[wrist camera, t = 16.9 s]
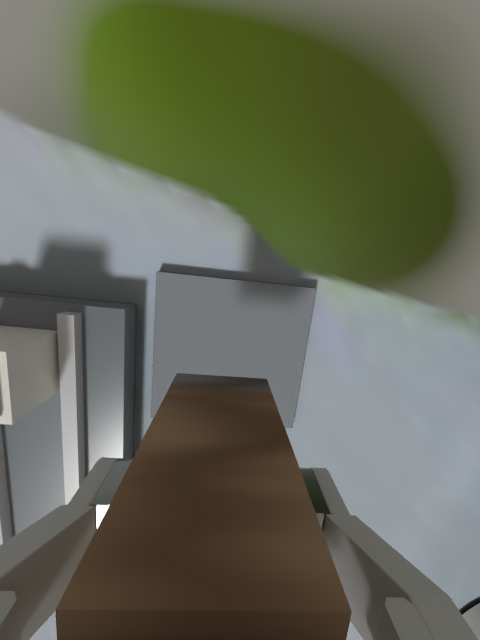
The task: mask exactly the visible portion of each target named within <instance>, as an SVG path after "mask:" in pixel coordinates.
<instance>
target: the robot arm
mask: <svg viewBox="0 0 480 640" xmlns="http://www.w3.org/2000/svg"><path fill="white" fill-rule="evenodd" d="M131 461H132V459H126V458H108V457H101V458H100V459H99V460H98V461H97V462H96V463H95V465H94V466H93V468H92V469H91V471H90V472H89V474H88V475H87V477H86V478H85V480H84V481H83V483H82V484H81V486H80V487H79V489H78V490H77V492H76V493H75V495H74V496H73V497H72V499H71V500H70V502H69V503H68V505H61V506H59V507H58V508H56V509H55V510H53V511H52V512H50V513H48V514H47V515H45V516H44V517H42V518H41V519H39V520H38V521H36V522H35V523H33V524H32V525H30V526H29V527H27V528H26V529H24V530H23V531H21V532H20V533H18V534H17V535H15V536H14V537H12V538H11V539H9V540H8V541H6V542H5V543H3V544H2V545H0V640H29V639H30V638H31V637H32V636H33V634H34V633H35V632H36V631H37V630H38V629H39V628H40V627H41V626H42V625H43V624H44V622H45V621H46V620H47V619H48V618H49V617H50V616H51V615H52V614H53V613H54V611H55V610H56V608H57V606H58V604H59V602H60V600H61V598H62V596H63V594H64V592H65V590H66V588H67V586H68V584H69V582H70V580H71V579H72V577H73V575H74V573H75V571H76V569H77V567H78V565H79V563H80V561H81V559H82V557H83V555H84V553H85V551H86V549H87V547H88V545H89V543H90V541H91V539H92V538H93V536H94V534H95V532H96V530H97V528H98V526H99V524H100V522H101V520H102V518H103V516H104V514H105V512H106V510H107V508H108V506H109V504H110V502H111V500H112V499H113V497H114V495H115V493H116V491H117V489H118V487H119V485H120V483H121V481H122V479H123V477H124V475H125V473H126V471H127V469H128V467H129V465H130V463H131ZM300 471H301V474H302V477H303V479H304V482H305V485H306V488H307V490H308V493H309V496H310V499H311V501H312V504H313V507H314V510H315V512H316V515H317V518H318V521H319V523H320V526H321V529H322V532H323V534H324V537H325V540H326V543H327V545H328V548H329V551H330V554H331V556H332V559H333V562H334V565H335V567H336V570H337V573H338V575H339V578H340V581H341V584H342V586H343V589H344V592H345V595H346V597H347V600H348V603H349V606H350V608H351V611H352V613H351V618H350V621H351V622H352V624H353V625H354V626H355V628H356V629H357V631H358V632H359V634H360V635H361V636H362V638H363V639H364V640H480V603H479V604H477V605H475V606H474V607H472V608H471V609H469V610H468V611H466V612H465V613H464V614H463V615H462V614H461V613H460V611H459V610H458V608H457V607H456V605H455V604H454V602H453V601H452V599H451V598H450V597H449V596H448V595H447V594H446V593H445V592H444V591H442V590H441V589H440V588H439V587H438V586H437V585H435V584H434V583H433V582H432V581H431V580H430V579H428V578H427V577H426V576H425V575H424V574H423V573H421V572H420V571H419V570H418V569H417V568H416V567H414V566H413V565H412V564H411V563H410V562H409V561H407V560H406V559H405V558H404V557H403V556H402V555H401V554H399V553H398V552H397V551H396V550H395V549H394V548H392V547H391V546H390V545H389V544H388V543H387V542H385V541H384V540H383V539H382V538H381V537H380V536H378V535H377V534H376V533H375V532H374V531H373V530H371V529H370V528H369V527H368V526H367V525H366V524H364V523H363V522H362V521H361V520H360V519H359V518H357V517H356V516H352V515H350V514H349V512H348V510H347V508H346V506H345V504H344V502H343V500H342V498H341V496H340V493H339V491H338V489H337V487H336V485H335V483H334V481H333V479H332V477H331V475H330V473H329V471H328V470H327V469H326V468H300Z"/></svg>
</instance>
